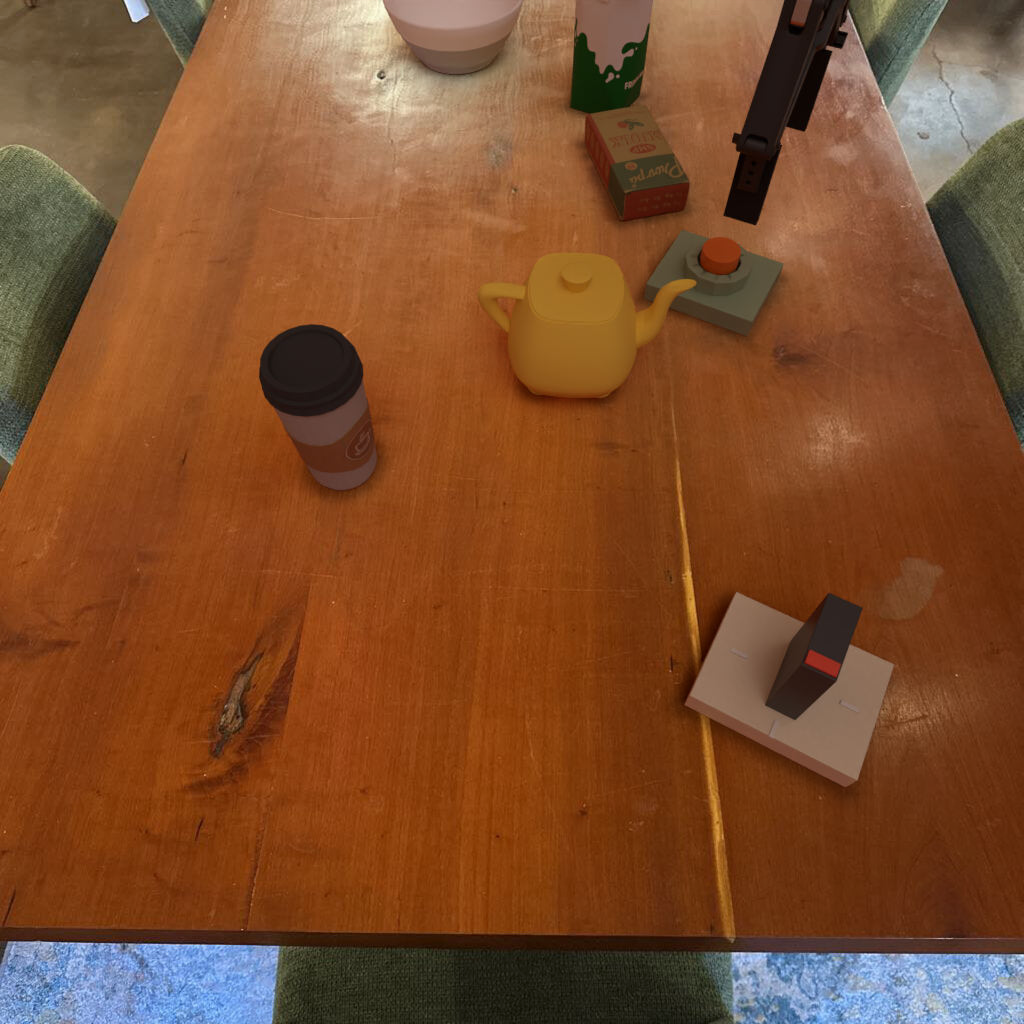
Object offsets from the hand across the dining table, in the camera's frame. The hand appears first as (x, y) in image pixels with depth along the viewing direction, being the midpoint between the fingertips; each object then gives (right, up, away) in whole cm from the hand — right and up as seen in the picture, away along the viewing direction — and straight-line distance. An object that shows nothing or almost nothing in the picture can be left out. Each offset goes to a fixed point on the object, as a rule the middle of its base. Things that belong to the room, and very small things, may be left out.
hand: (766, 170), depth 64 cm
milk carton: (-9, +27, +40) cm, 49 cm away
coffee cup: (-37, -24, +9) cm, 46 cm away
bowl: (-29, +37, +47) cm, 67 cm away
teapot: (-15, -14, +15) cm, 25 cm away
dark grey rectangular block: (0, -42, -5) cm, 42 cm away
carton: (-6, +13, +31) cm, 35 cm away
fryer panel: (0, -43, -3) cm, 43 cm away
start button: (+1, -2, +18) cm, 18 cm away
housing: (+1, -4, +21) cm, 21 cm away
